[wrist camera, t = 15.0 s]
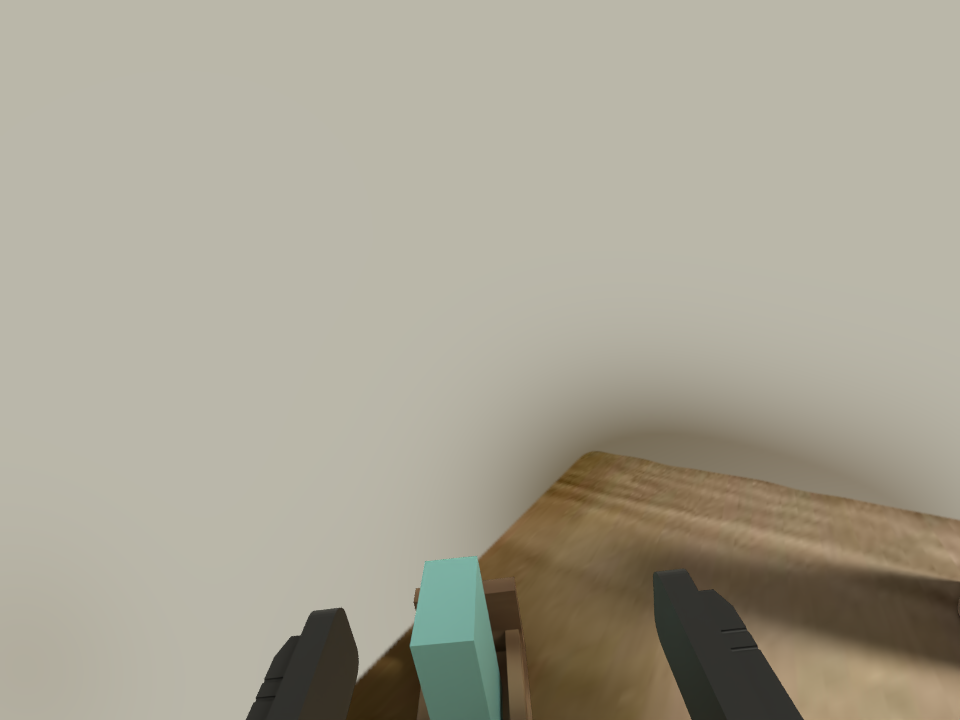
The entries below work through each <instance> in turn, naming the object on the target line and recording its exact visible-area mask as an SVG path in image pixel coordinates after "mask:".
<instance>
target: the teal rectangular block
mask: <svg viewBox="0 0 960 720" xmlns="http://www.w3.org/2000/svg"><path fill="white" fill-rule="evenodd" d="M410 649H411V652H412V656H413V660H414V663H415V667H416V671H417V674H418V678H419V681H420V685H421V689H422V692H423V696H424V699H425V703H426V707H427V710H428V714H429V717H430V720H503V700H502V682H501V677H500V672H499V667H498V662H497V656H496V651H495V646H494V641H493V636H492V631H491V626H490V620H489V615H488V610H487V605H486V600H485V595H484V589H483V584H482V579H481V574H480V569H479V564H478V558H477V556H472V557H463V558H452V559H443V560H434V561H425V565H424V571H423V576H422V582H421V587H420V593H419V598H418V604H417V609H416V615H415V621H414V626H413V632H412V637H411V643H410Z"/></svg>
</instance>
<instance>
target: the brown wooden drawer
mask: <svg viewBox="0 0 960 720" xmlns="http://www.w3.org/2000/svg"><path fill="white" fill-rule="evenodd" d="M482 584H483V589H484V595H485V600H486V605H487V610H488V615H489V620H490V626H491V631H492V636H493V641H494V646H495V651H496V656H497V662H498V667H499V672H500V677H501V682H502V700H503V720H532V710H531V700H530V690H529V680H528V670H527V659H526V649H525V640H524V634H523V628H522V622H521V616H520V610H519V604H518V598H517V591H516V585H515V579H514V577H509V578H500V579H492V580H484V581H482ZM419 593H420V588H416V591H415V597H414V606H415V609H417V604H418V598H419ZM417 720H430V717H429V714H428V710H427V707H426V703H425V699H424V696H423V692H422V689H420V697H419V705H418V714H417Z"/></svg>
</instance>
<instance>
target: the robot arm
mask: <svg viewBox="0 0 960 720" xmlns="http://www.w3.org/2000/svg"><path fill="white" fill-rule="evenodd" d="M653 587H654V615H655V623H656V628H657V632H658V636H659V639H660V642H661V645H662V648H663V650H664V653H665V655H666V658H667V660H668V662H669V665H670V667H671V670H672V672H673V675H674V677H675V680H676V682H677V685H678V687H679V690H680V692H681V694H682V697H683V699H684V702H685V704H686V707H687V709H688V712H689V714H690V717H691V719H692V720H804V719H803V718H802V716H801V715H800V713H799V711H798V710H797V708H796V707H795V705H794V703H793V702H792V700H791V699H790V697H789V695H788V694H787V692H786V691H785V689H784V687H783V686H782V684H781V682H780V681H779V679H778V678H777V676H776V674H775V673H774V671H773V670H772V668H771V666H770V665H769V663H768V662H767V660H766V658H765V657H764V655H763V654H762V652H761V650H759V649H758V647H757V644H756V642H755V641H754V639H753V638H752V636H751V634H750V633H749V632H748V631H747V629H746V626H745V625H744V623H743V621H742V620H741V618H740V617H739V615H738V613H737V612H736V610H735V609H734V607H733V606H732V605H731V604H730V603H729V602H727V601H726V600H725V599H724V598H723V597H722V596H720V595H719V594H718V593H717V592H716V591H715V590H713V589H712V590H703V591H698V589H697V588H696V586H695V584H694V582H693V580H692V579H691V577H690V575H689V573H688V572H687V571H686V570H685V569H676V570H667V571H659V572H654V574H653ZM958 614H959V616H960V598H959V602H958ZM358 659H359V658H358V651H357V646H356V643H355V640H354V637H353V634H352V631H351V628H350V625H349V622H348V619H347V616H346V613H345V611H344V609H343V608H334V609H326V610H317V611H313V612H312V613H311V614H310V615H309V617H308V620H307V622H306V624H305V626H304V629H303V631H302V634H301V635H300V636H291V637H290V638H289V640H288V641H287V642H286V643H285V645H284V646H283V647H282V648H281V650H280V651H279V652H278V653H277V655H276V656H275V657H274V659H273V661H272V663H271V666H270V668H269V670H268V672H267V674H266V677H265V681H264V683H263V684H262V685H261V688H260V690H259V692H258V694H257V696H256V702H254V703H253V705H252V707H251V710H250V712H249V714H248V716H247V718H246V720H346V717H347V713H348V710H349V706H350V702H351V698H352V694H353V690H354V687H355V683H356V679H357V674H358V664H359V660H358Z"/></svg>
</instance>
